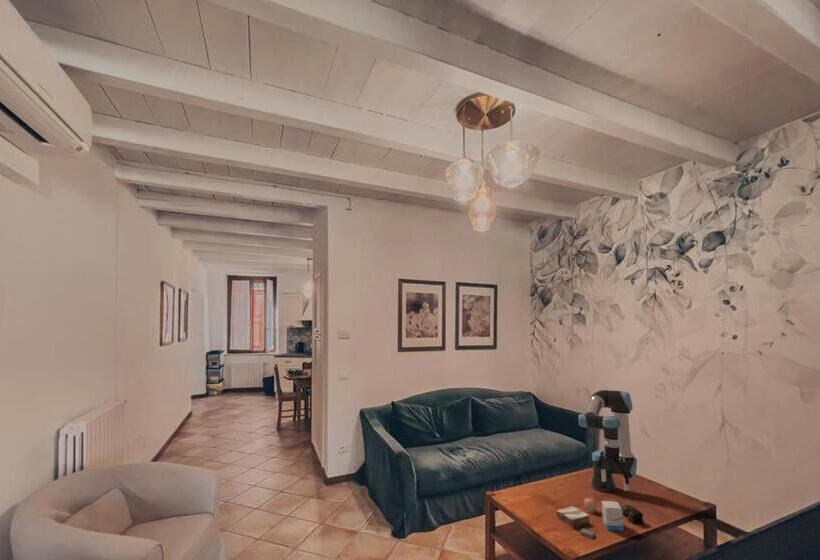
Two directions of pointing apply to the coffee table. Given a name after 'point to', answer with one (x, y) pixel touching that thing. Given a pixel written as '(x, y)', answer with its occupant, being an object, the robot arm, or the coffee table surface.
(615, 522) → the ink box
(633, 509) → the sculpture
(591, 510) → the tan rounded cylinder
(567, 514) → the plinth
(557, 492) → the coffee table surface
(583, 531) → the gray rectangular block
